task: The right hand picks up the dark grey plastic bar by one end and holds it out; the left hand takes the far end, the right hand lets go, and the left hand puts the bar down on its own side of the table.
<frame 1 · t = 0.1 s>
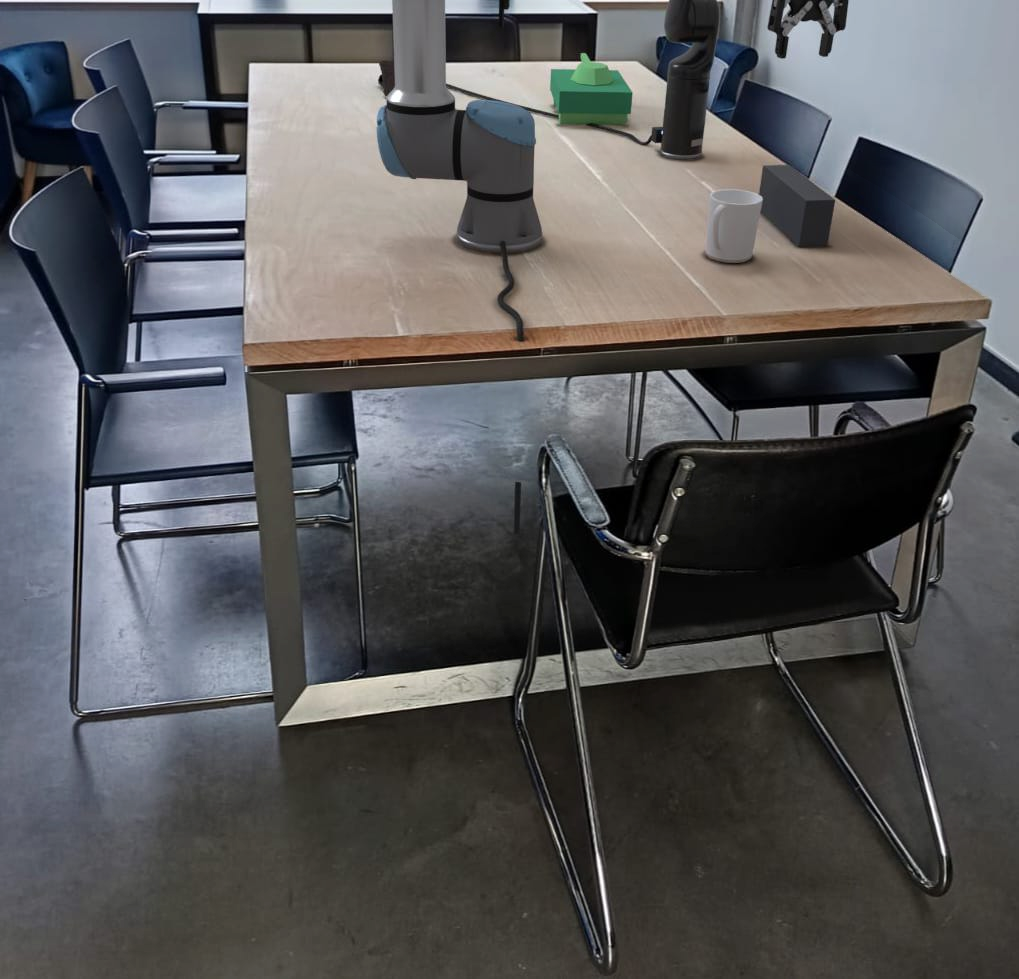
left hand: (468, 25, 224), 28 cm above the table, tool pointing down, fingers open, 13 cm apart
right hand: (802, 57, 197), 29 cm above the table, tool pointing down, fingers open, 8 cm apart
bar: (790, 226, 206), on the table
axe head: (403, 91, 300), on the table
toy tank: (586, 112, 283), on the table
mug: (725, 257, 190), on the table
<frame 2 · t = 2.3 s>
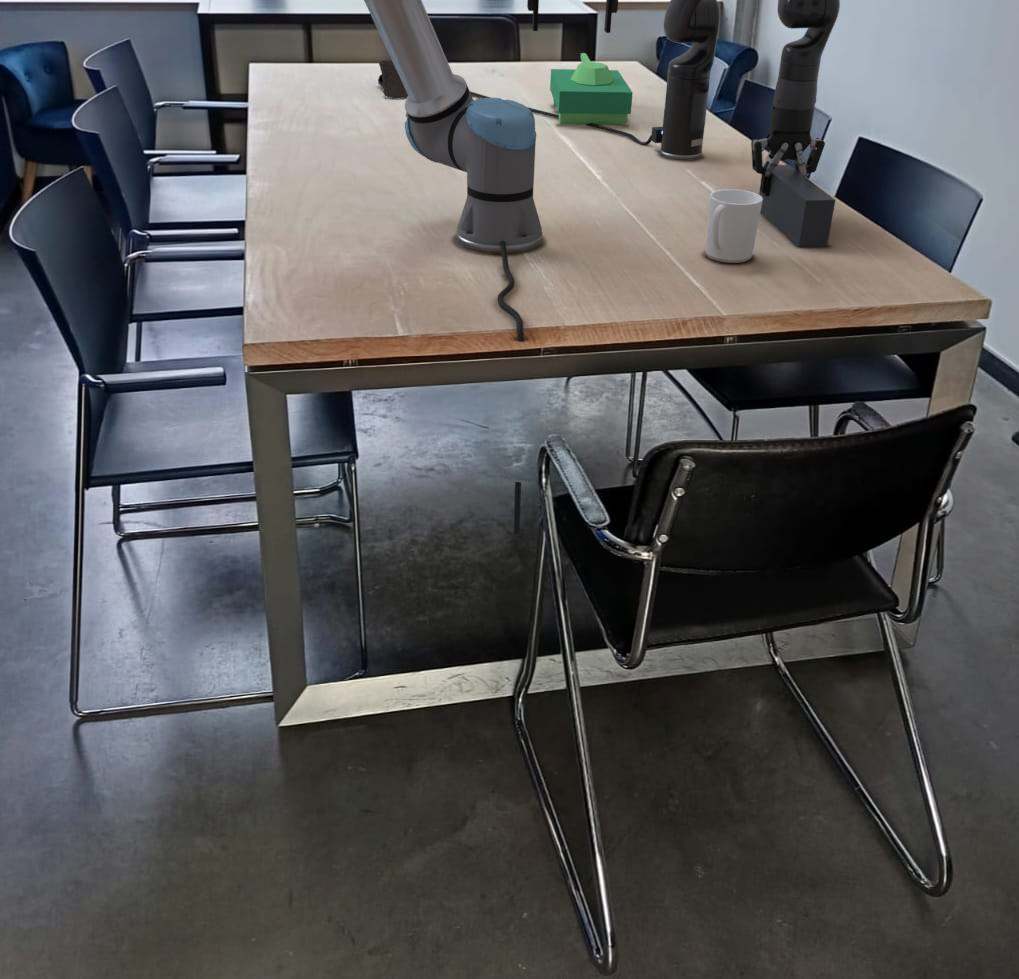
left hand: (571, 31, 204), 31 cm above the table, tool pointing down, fingers open, 13 cm apart
right hand: (780, 194, 210), 4 cm above the table, tool pointing down, fingers closed on bar, 5 cm apart
bar: (790, 226, 206), on the table, touching right hand
everything else where it was.
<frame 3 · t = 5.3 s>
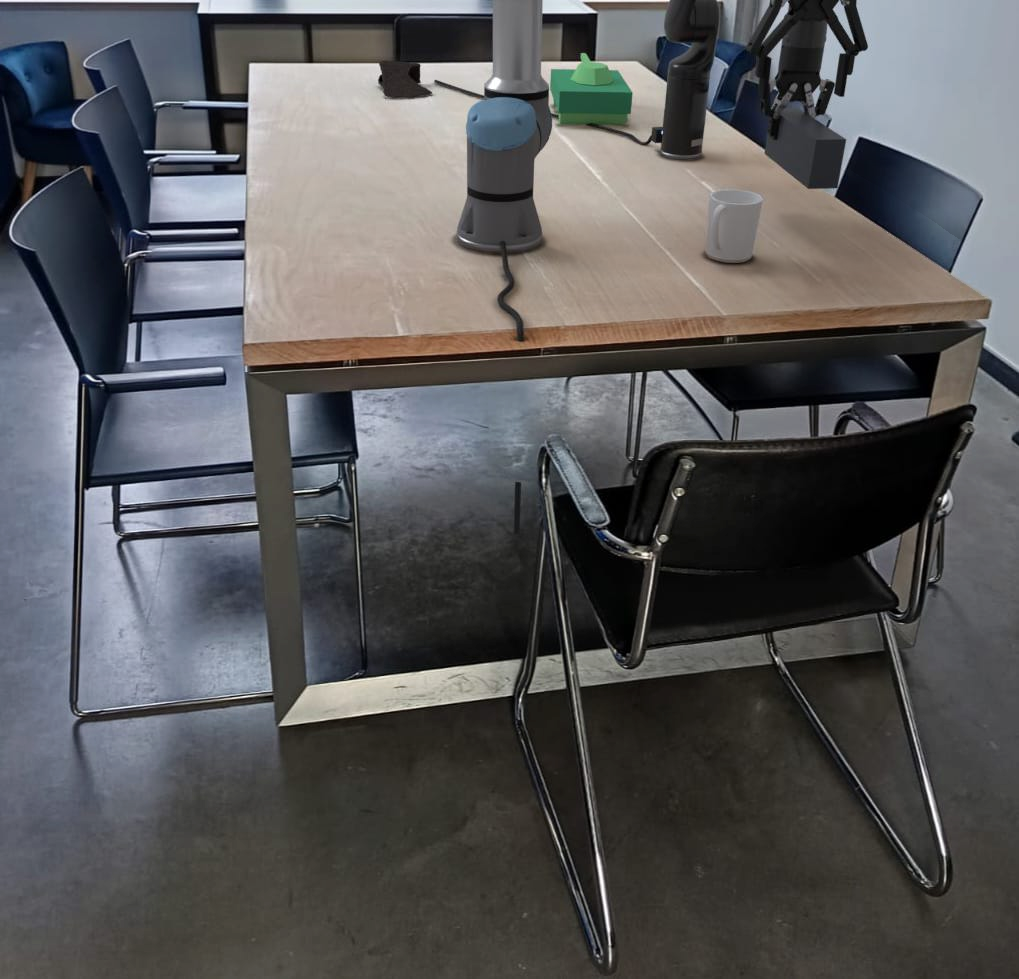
left hand: (800, 96, 186), 25 cm above the table, tool pointing down, fingers open, 13 cm apart
right hand: (788, 137, 205), 15 cm above the table, tool pointing down, fingers closed on bar, 5 cm apart
bar: (799, 170, 201), point 10 cm above the table, touching right hand
everything else where it was.
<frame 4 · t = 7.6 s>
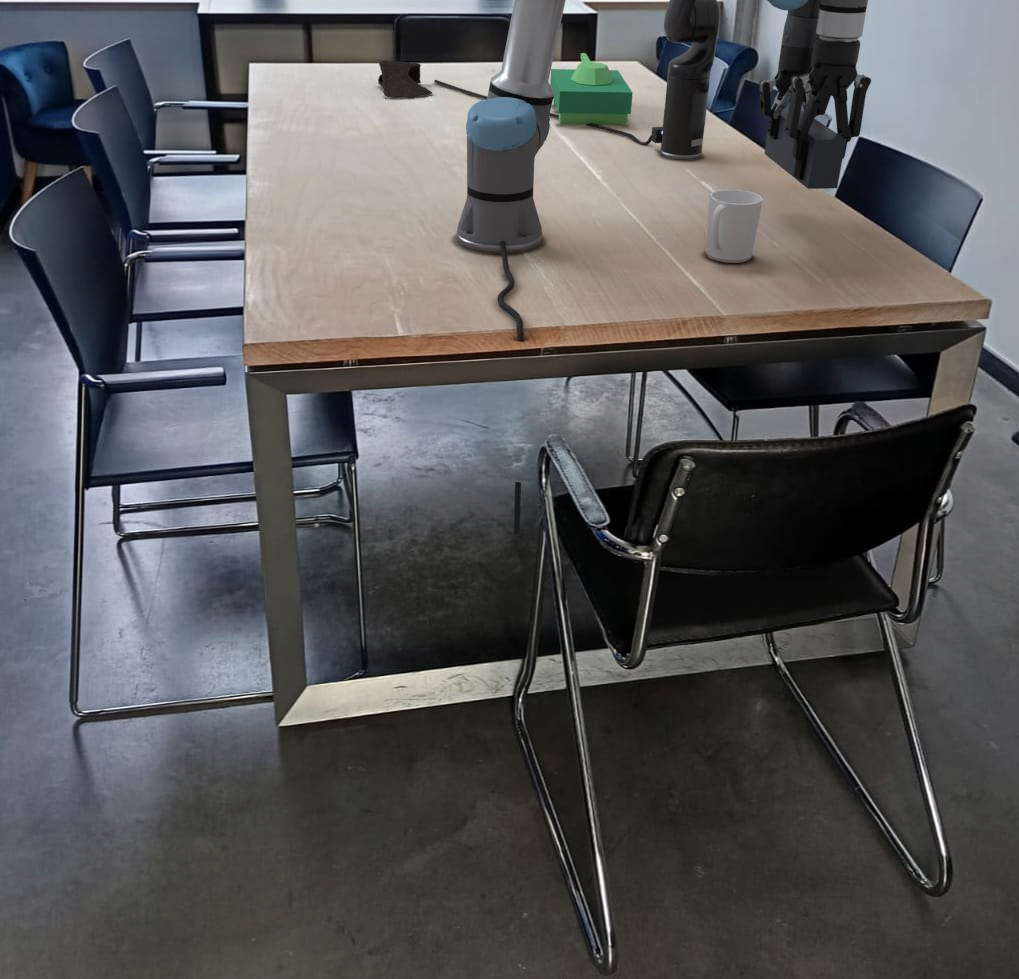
left hand: (814, 177, 194), 11 cm above the table, tool pointing down, fingers closed on bar, 5 cm apart
right hand: (788, 137, 205), 15 cm above the table, tool pointing down, fingers closed on bar, 5 cm apart
bar: (799, 170, 201), point 10 cm above the table, touching left hand, right hand
everything else where it was.
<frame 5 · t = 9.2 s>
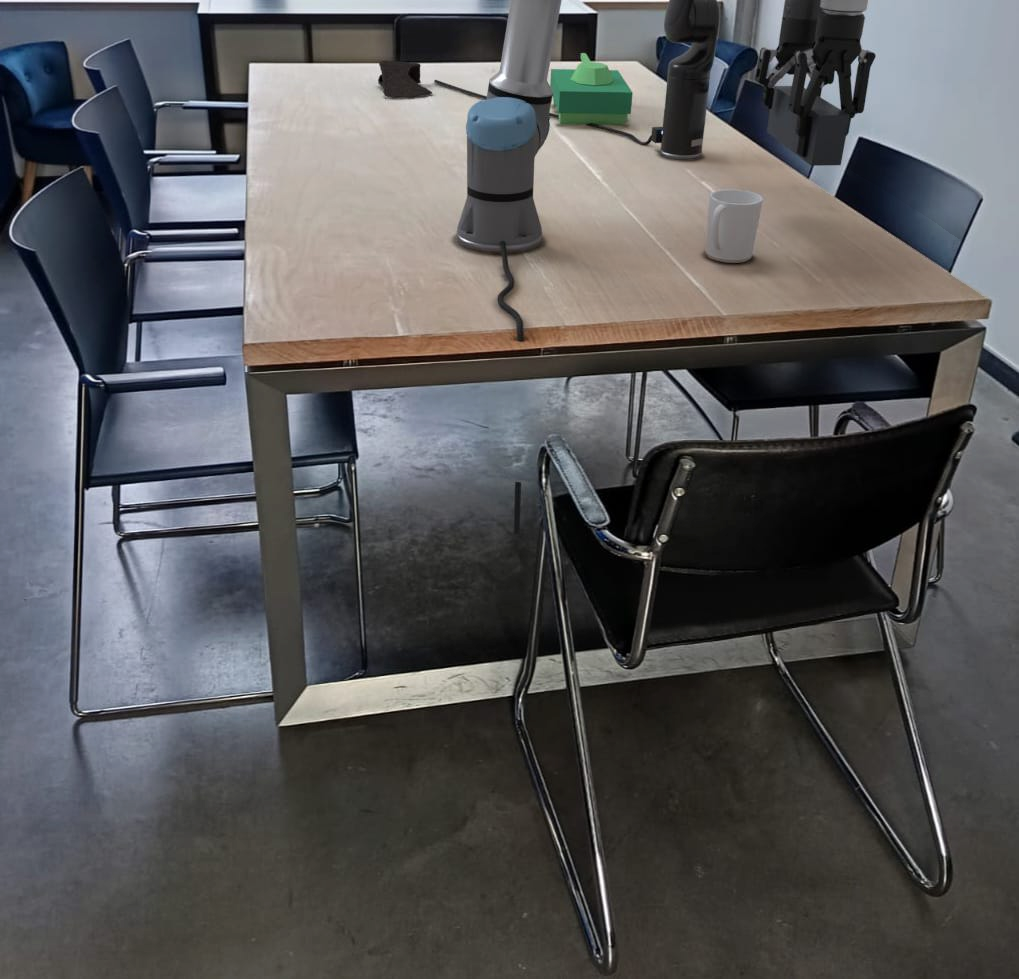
left hand: (818, 154, 192), 15 cm above the table, tool pointing down, fingers closed on bar, 5 cm apart
right hand: (789, 107, 203), 20 cm above the table, tool pointing down, fingers open, 8 cm apart
bar: (802, 148, 199), point 15 cm above the table, touching left hand
everything else where it was.
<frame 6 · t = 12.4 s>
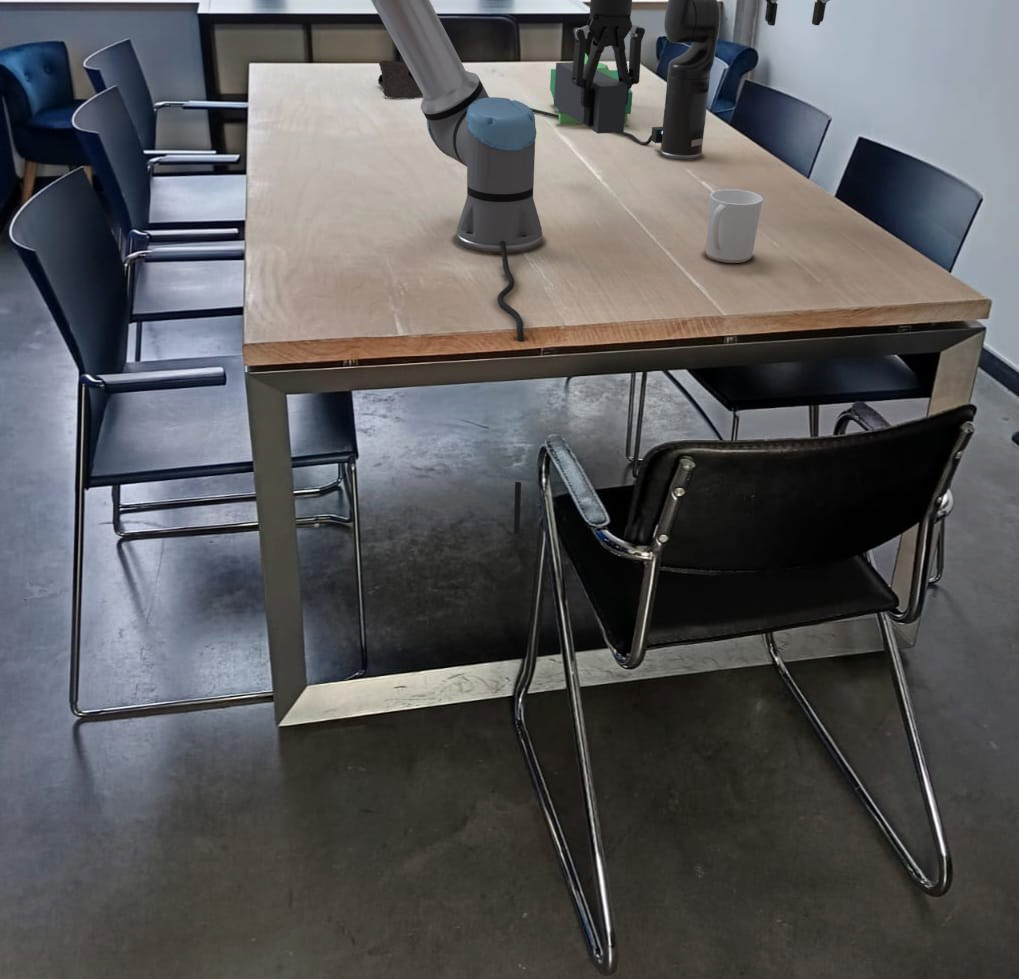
left hand: (602, 123, 208), 15 cm above the table, tool pointing down, fingers closed on bar, 5 cm apart
right hand: (793, 24, 200), 33 cm above the table, tool pointing down, fingers open, 8 cm apart
bar: (587, 118, 215), point 15 cm above the table, touching left hand
everything else where it was.
when the left hand's fingers open (2 cm above the table, at t = 17.6 s): bar stays where it is, on the table.
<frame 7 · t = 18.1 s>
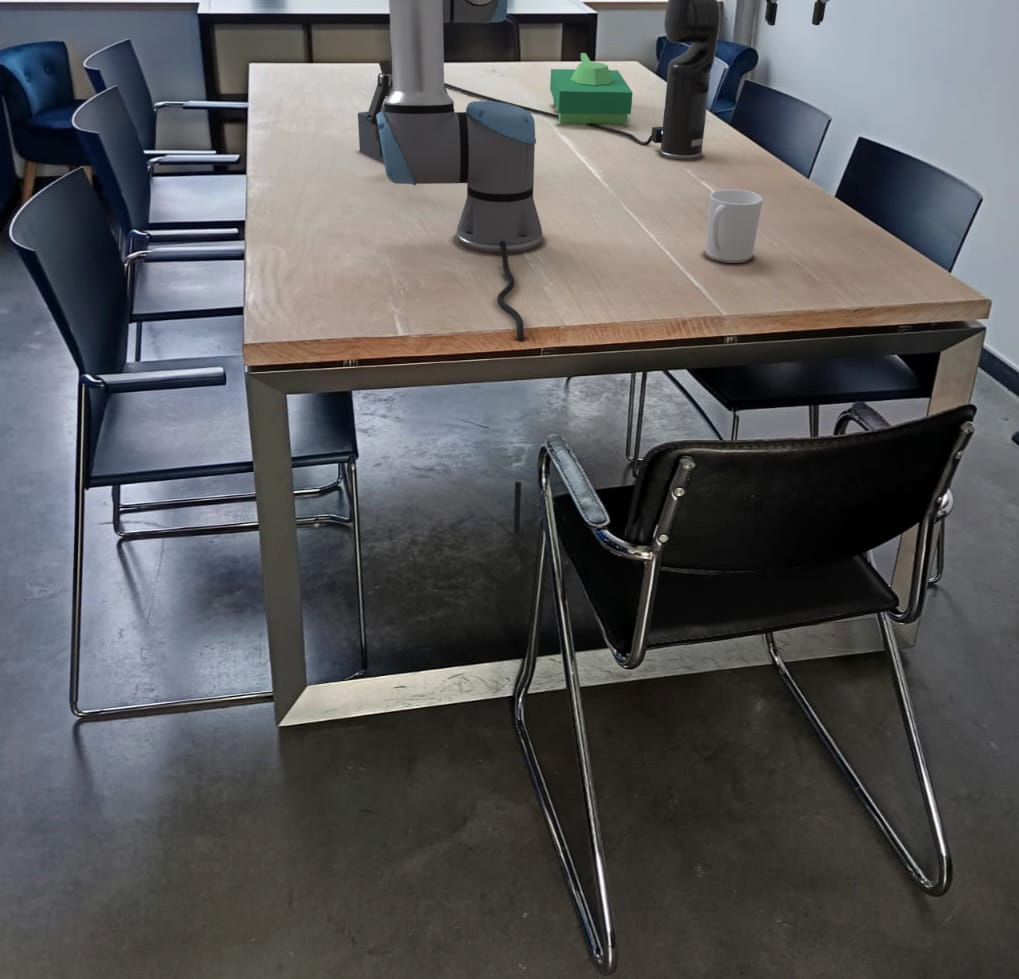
left hand: (412, 153, 232), 3 cm above the table, tool pointing down, fingers open, 13 cm apart
right hand: (793, 24, 200), 33 cm above the table, tool pointing down, fingers open, 8 cm apart
bar: (395, 161, 239), on the table
everything else where it was.
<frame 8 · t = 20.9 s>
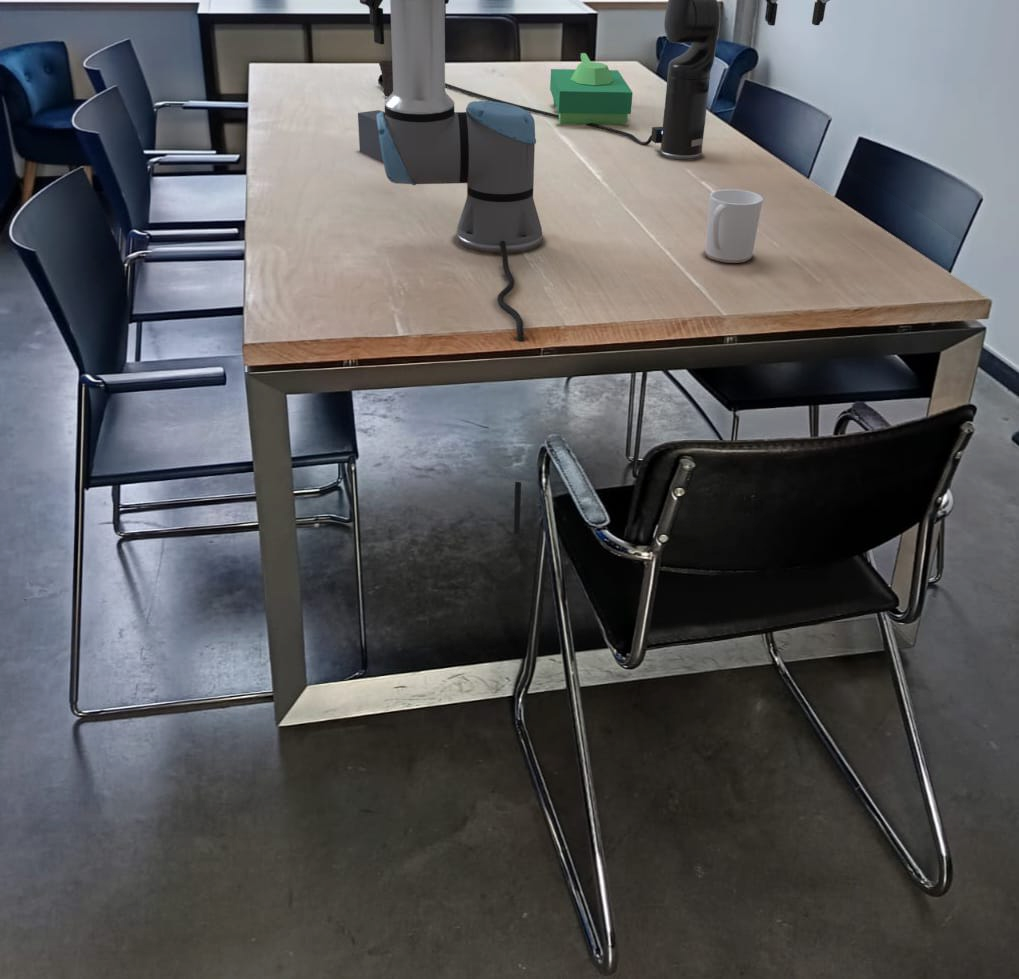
left hand: (409, 40, 221), 26 cm above the table, tool pointing down, fingers open, 13 cm apart
right hand: (793, 24, 200), 33 cm above the table, tool pointing down, fingers open, 8 cm apart
nothing on the table moved.
at the end: bar inside the target area (7.4 cm from its centre), on the table; the left hand is holding nothing; the right hand is holding nothing; bar at rest at the end (0.0 cm/s) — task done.
